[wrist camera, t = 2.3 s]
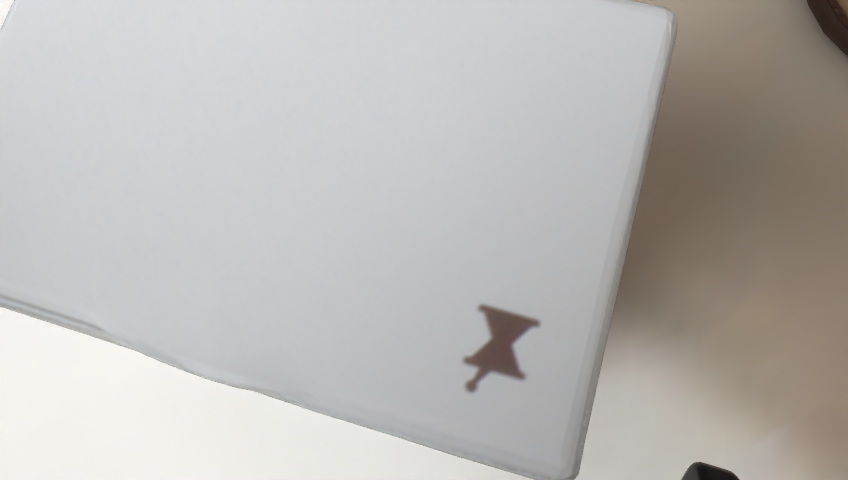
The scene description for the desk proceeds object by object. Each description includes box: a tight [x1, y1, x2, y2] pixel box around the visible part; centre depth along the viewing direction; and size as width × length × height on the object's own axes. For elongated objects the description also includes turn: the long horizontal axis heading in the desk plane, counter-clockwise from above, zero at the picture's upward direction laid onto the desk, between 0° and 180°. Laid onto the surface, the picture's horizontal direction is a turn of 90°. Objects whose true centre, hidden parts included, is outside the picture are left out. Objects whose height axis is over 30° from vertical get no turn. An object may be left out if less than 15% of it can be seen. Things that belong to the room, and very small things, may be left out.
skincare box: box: [0, 0, 677, 480], centre depth 12 cm, size 6×4×12 cm
